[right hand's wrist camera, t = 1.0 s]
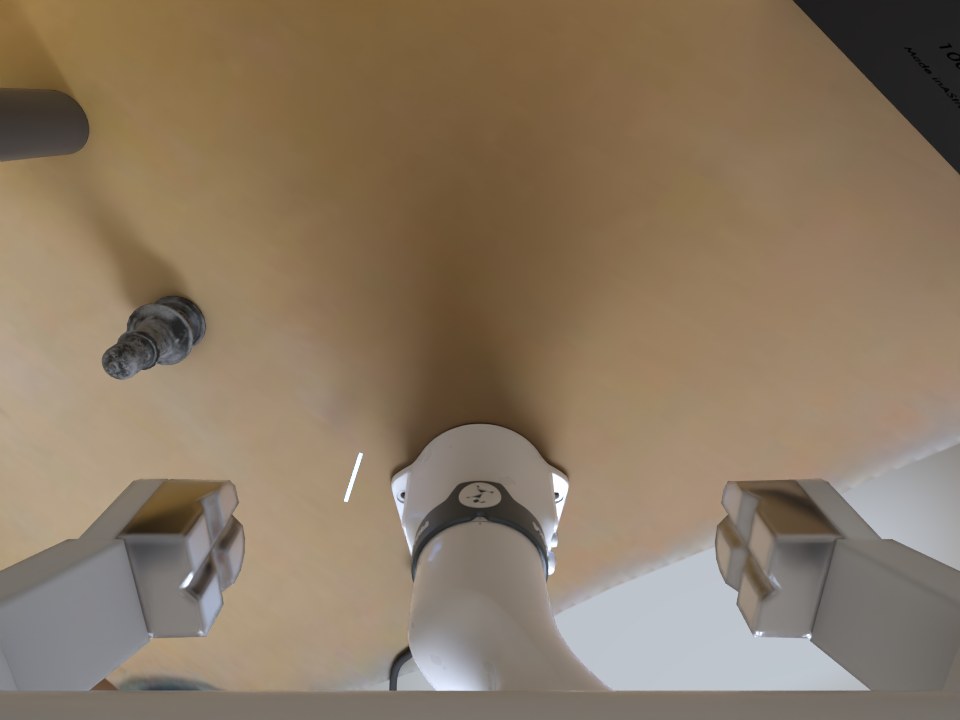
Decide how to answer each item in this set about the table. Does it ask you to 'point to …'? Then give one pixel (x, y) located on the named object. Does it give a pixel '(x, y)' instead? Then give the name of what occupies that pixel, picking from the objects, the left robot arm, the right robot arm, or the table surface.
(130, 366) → the dark grey chess piece
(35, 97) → the grey tall cylinder
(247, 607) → the table surface
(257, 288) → the table surface
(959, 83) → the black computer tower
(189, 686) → the table surface
